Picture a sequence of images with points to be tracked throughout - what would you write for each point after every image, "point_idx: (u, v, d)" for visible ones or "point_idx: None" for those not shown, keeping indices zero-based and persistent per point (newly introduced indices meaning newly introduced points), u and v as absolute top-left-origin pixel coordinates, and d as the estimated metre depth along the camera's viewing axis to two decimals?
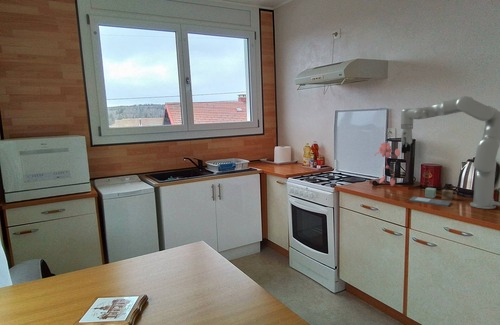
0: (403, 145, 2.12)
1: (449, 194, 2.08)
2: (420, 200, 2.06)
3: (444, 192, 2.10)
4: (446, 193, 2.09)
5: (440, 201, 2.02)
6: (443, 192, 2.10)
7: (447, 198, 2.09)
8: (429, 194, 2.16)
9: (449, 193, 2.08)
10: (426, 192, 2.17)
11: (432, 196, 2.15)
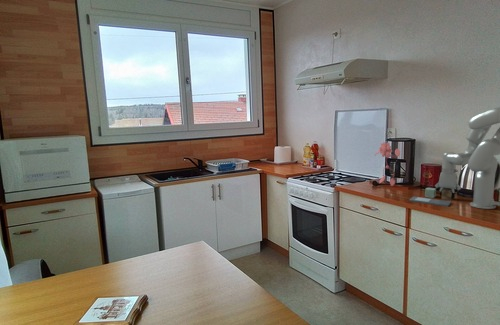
0: (456, 191, 2.07)
1: (449, 194, 2.08)
2: (420, 200, 2.06)
3: (444, 191, 2.10)
4: (446, 193, 2.09)
5: (440, 201, 2.02)
6: (443, 192, 2.10)
7: (447, 198, 2.09)
8: (429, 194, 2.16)
9: (449, 193, 2.08)
10: (426, 192, 2.17)
11: (432, 196, 2.15)
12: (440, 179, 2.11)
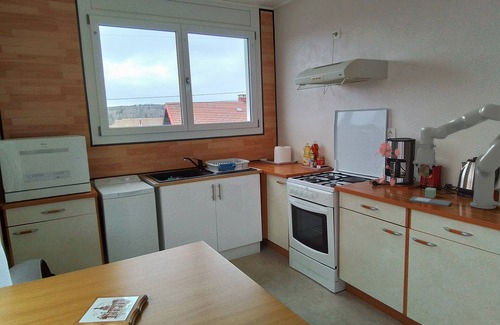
0: None
1: (426, 170, 2.02)
2: (420, 200, 2.06)
3: (421, 168, 2.04)
4: (423, 169, 2.03)
5: (440, 201, 2.02)
6: (421, 168, 2.04)
7: (424, 174, 2.03)
8: (429, 194, 2.16)
9: (426, 169, 2.02)
10: (426, 192, 2.17)
11: (432, 196, 2.15)
12: (418, 155, 2.05)
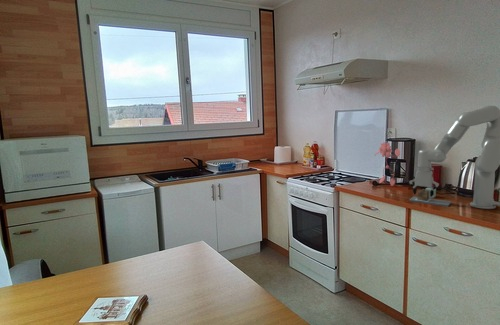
0: (435, 188, 2.02)
1: (425, 195, 2.04)
2: (420, 200, 2.06)
3: (419, 192, 2.06)
4: (422, 194, 2.05)
5: (440, 201, 2.02)
6: (419, 193, 2.06)
7: (423, 199, 2.05)
8: (429, 194, 2.16)
9: (425, 194, 2.04)
10: None
11: (432, 196, 2.15)
12: (416, 177, 2.07)
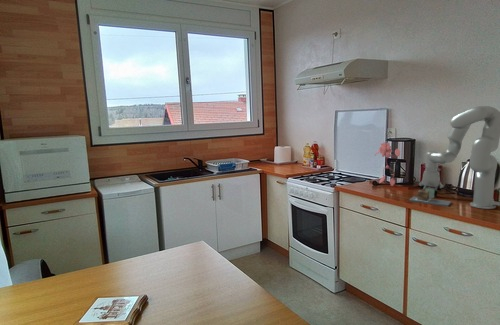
0: None
1: (425, 195, 2.04)
2: (420, 200, 2.06)
3: (419, 192, 2.06)
4: (422, 194, 2.05)
5: (440, 201, 2.02)
6: (419, 193, 2.06)
7: (423, 199, 2.05)
8: (429, 194, 2.16)
9: (425, 194, 2.04)
10: None
11: (432, 196, 2.15)
12: (423, 177, 2.18)
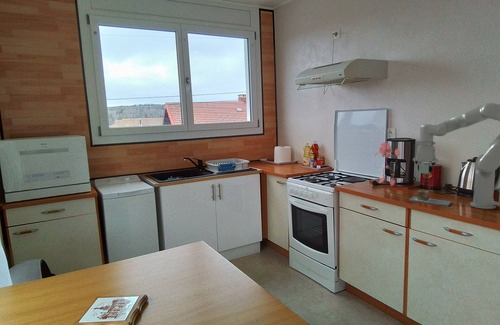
0: None
1: (425, 195, 2.04)
2: (420, 200, 2.06)
3: (419, 192, 2.06)
4: (422, 194, 2.05)
5: (440, 201, 2.02)
6: (419, 193, 2.06)
7: (423, 199, 2.05)
8: (423, 170, 2.04)
9: (425, 194, 2.04)
10: (420, 167, 2.05)
11: (426, 171, 2.03)
12: (417, 152, 2.05)
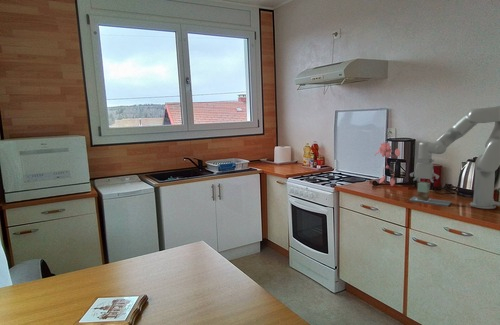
0: (435, 180, 2.01)
1: (425, 195, 2.04)
2: (420, 200, 2.06)
3: (419, 192, 2.06)
4: (422, 194, 2.05)
5: (440, 201, 2.02)
6: (419, 193, 2.06)
7: (423, 199, 2.05)
8: (422, 189, 2.05)
9: (425, 194, 2.04)
10: (419, 186, 2.06)
11: (425, 190, 2.04)
12: (416, 169, 2.06)
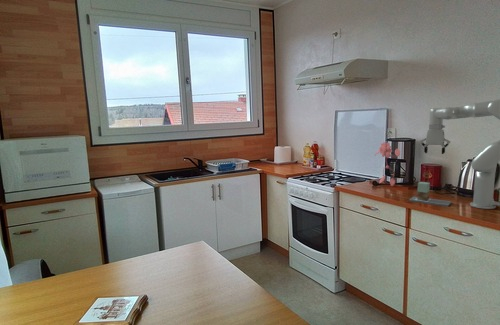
0: (447, 145, 2.04)
1: (425, 195, 2.04)
2: (420, 200, 2.06)
3: (419, 192, 2.06)
4: (422, 194, 2.05)
5: (440, 201, 2.02)
6: (419, 193, 2.06)
7: (423, 199, 2.05)
8: (422, 189, 2.05)
9: (425, 194, 2.04)
10: (419, 186, 2.06)
11: (425, 190, 2.04)
12: (427, 136, 2.09)
